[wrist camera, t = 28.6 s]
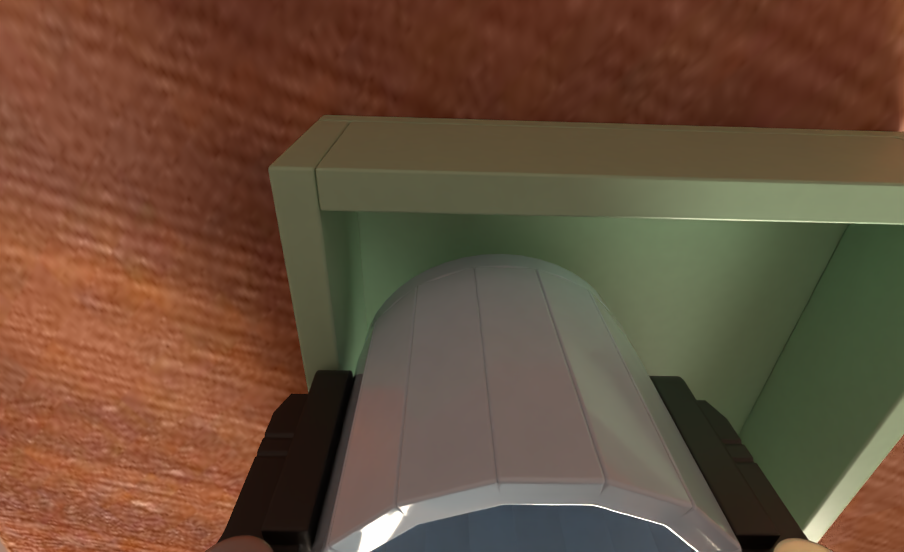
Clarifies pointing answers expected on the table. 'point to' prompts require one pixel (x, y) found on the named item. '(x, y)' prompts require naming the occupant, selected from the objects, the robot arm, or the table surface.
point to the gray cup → (509, 426)
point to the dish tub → (640, 260)
